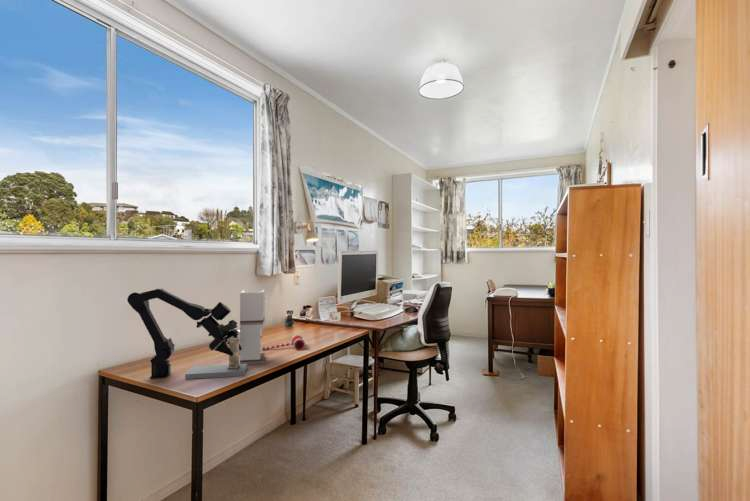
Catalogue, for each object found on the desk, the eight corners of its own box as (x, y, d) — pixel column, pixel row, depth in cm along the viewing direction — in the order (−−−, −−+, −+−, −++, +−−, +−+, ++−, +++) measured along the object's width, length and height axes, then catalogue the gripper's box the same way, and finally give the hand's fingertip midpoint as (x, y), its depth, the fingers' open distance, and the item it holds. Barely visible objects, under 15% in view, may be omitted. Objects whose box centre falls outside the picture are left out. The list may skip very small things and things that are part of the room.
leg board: (185, 379, 159) (185, 374, 159) (192, 370, 170) (192, 366, 170) (243, 375, 164) (243, 370, 164) (247, 367, 175) (247, 363, 175)
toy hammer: (262, 353, 200) (262, 341, 200) (262, 348, 211) (262, 337, 211) (305, 350, 208) (305, 338, 208) (302, 345, 219) (302, 334, 219)
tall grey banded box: (262, 363, 182) (262, 292, 182) (239, 364, 180) (240, 292, 180) (264, 356, 193) (264, 289, 193) (243, 358, 191) (243, 290, 191)
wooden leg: (228, 373, 166) (228, 340, 166) (229, 371, 170) (230, 338, 171) (238, 373, 167) (238, 339, 167) (239, 370, 171) (239, 337, 171)
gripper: (215, 319, 159) (241, 345, 159) (234, 312, 178) (256, 335, 177) (198, 337, 160) (222, 363, 159) (218, 328, 178) (240, 351, 178)
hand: (237, 352), depth 168 cm, fingers open, 9 cm apart
